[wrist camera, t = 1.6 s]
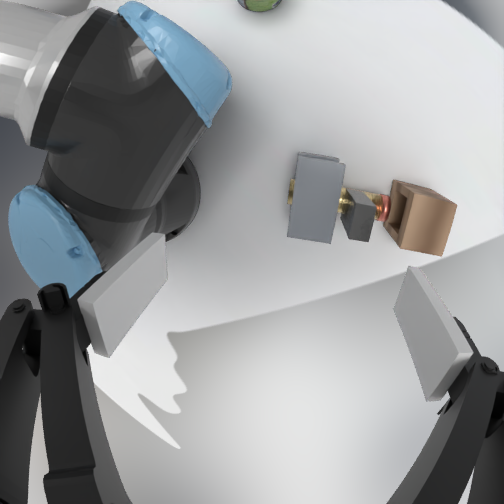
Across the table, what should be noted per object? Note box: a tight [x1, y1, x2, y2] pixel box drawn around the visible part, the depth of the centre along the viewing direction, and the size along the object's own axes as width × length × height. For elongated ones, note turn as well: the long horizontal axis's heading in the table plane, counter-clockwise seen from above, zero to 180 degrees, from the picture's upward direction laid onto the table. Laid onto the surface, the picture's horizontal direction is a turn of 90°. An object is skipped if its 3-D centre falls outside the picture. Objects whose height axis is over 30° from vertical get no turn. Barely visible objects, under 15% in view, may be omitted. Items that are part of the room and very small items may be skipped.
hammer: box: [287, 179, 391, 242], centre depth 30 cm, size 12×4×10 cm, turn 85°
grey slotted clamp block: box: [287, 152, 346, 244], centre depth 33 cm, size 5×9×7 cm, turn 175°
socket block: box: [383, 180, 457, 256], centre depth 31 cm, size 6×6×8 cm
